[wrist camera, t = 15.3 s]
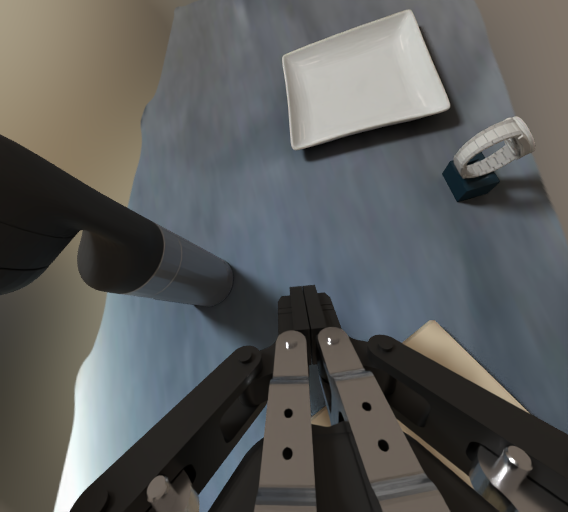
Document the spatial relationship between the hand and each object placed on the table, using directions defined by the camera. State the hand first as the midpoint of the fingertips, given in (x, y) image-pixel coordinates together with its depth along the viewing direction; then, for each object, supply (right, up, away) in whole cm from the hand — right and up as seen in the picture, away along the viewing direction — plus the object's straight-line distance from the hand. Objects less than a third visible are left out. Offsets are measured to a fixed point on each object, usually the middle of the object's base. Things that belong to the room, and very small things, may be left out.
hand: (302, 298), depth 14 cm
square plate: (+13, +36, +34) cm, 52 cm away
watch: (+28, +14, +23) cm, 39 cm away
